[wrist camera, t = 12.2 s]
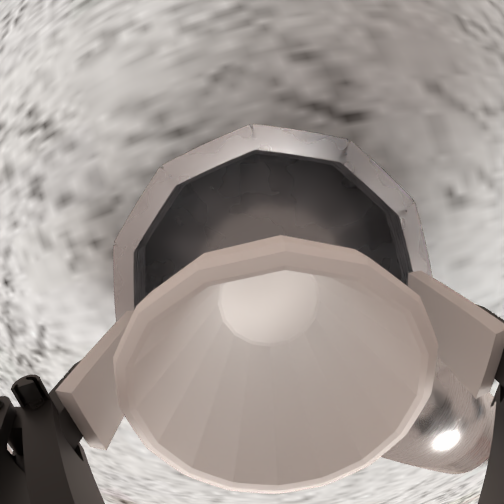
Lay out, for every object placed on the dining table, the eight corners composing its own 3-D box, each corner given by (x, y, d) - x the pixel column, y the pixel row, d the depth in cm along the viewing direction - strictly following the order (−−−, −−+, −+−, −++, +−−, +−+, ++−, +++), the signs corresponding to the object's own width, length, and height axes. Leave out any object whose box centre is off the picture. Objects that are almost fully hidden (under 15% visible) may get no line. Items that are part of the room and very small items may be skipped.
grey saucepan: (89, 308, 18) (21, 368, 10) (242, 74, 14) (232, -5, 6) (382, 464, 22) (402, 520, 14) (507, 337, 18) (556, 376, 10)
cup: (358, 207, 15) (470, 240, 6) (345, 364, 17) (394, 476, 8) (173, 211, 15) (74, 250, 6) (191, 370, 17) (154, 487, 8)
